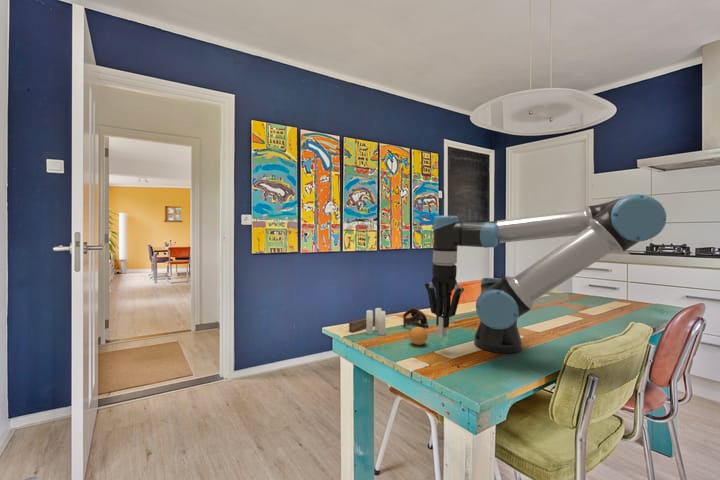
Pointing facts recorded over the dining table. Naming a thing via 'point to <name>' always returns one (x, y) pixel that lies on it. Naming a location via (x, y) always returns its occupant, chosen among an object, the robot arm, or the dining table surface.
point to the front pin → (382, 322)
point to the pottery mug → (415, 317)
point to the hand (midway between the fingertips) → (442, 336)
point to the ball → (418, 335)
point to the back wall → (359, 325)
